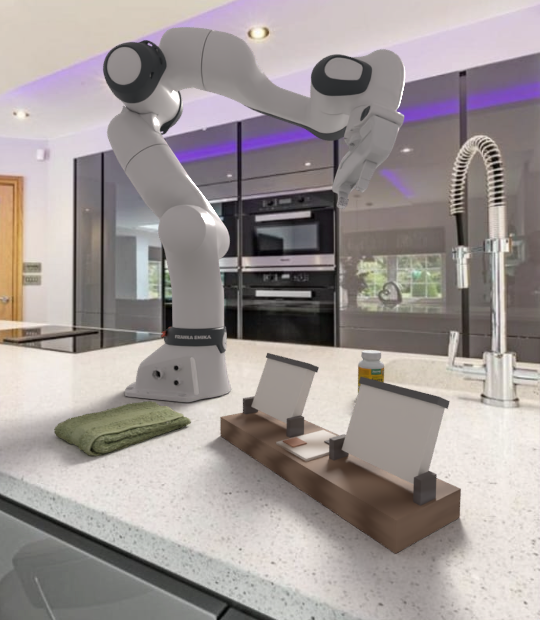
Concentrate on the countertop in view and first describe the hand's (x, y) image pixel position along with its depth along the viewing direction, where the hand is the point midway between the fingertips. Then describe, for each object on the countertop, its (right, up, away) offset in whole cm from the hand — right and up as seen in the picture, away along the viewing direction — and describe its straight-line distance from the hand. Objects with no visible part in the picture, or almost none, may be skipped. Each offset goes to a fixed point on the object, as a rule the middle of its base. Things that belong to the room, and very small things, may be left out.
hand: (350, 199), depth 77 cm
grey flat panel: (-4, -39, -33) cm, 51 cm away
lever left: (-15, -38, -17) cm, 44 cm away
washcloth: (-38, -41, -12) cm, 57 cm away
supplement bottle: (+6, -40, +9) cm, 41 cm away
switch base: (-9, -41, -25) cm, 49 cm away
